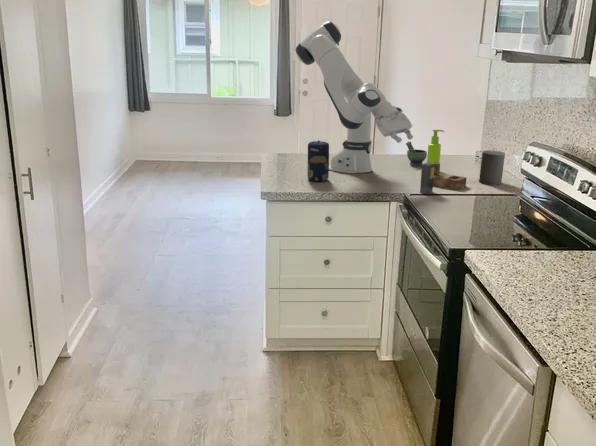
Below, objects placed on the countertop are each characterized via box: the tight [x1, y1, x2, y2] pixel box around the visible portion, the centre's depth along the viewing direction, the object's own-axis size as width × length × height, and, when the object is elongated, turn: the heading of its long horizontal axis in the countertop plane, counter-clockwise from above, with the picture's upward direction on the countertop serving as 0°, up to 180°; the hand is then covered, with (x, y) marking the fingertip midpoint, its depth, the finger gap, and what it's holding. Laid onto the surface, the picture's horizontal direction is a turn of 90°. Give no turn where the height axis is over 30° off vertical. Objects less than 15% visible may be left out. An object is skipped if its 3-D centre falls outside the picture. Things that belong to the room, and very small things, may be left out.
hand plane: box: [433, 162, 467, 191], centre depth 258 cm, size 15×8×9 cm, turn 50°
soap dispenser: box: [426, 129, 445, 164], centre depth 284 cm, size 6×7×20 cm
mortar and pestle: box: [405, 140, 428, 167], centre depth 300 cm, size 11×9×12 cm
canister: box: [307, 139, 330, 182], centre depth 265 cm, size 10×10×18 cm
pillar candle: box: [478, 149, 506, 186], centre depth 263 cm, size 10×10×15 cm
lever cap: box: [419, 162, 434, 194], centre depth 246 cm, size 4×5×12 cm
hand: (405, 140), depth 250 cm, fingers open, 8 cm apart
